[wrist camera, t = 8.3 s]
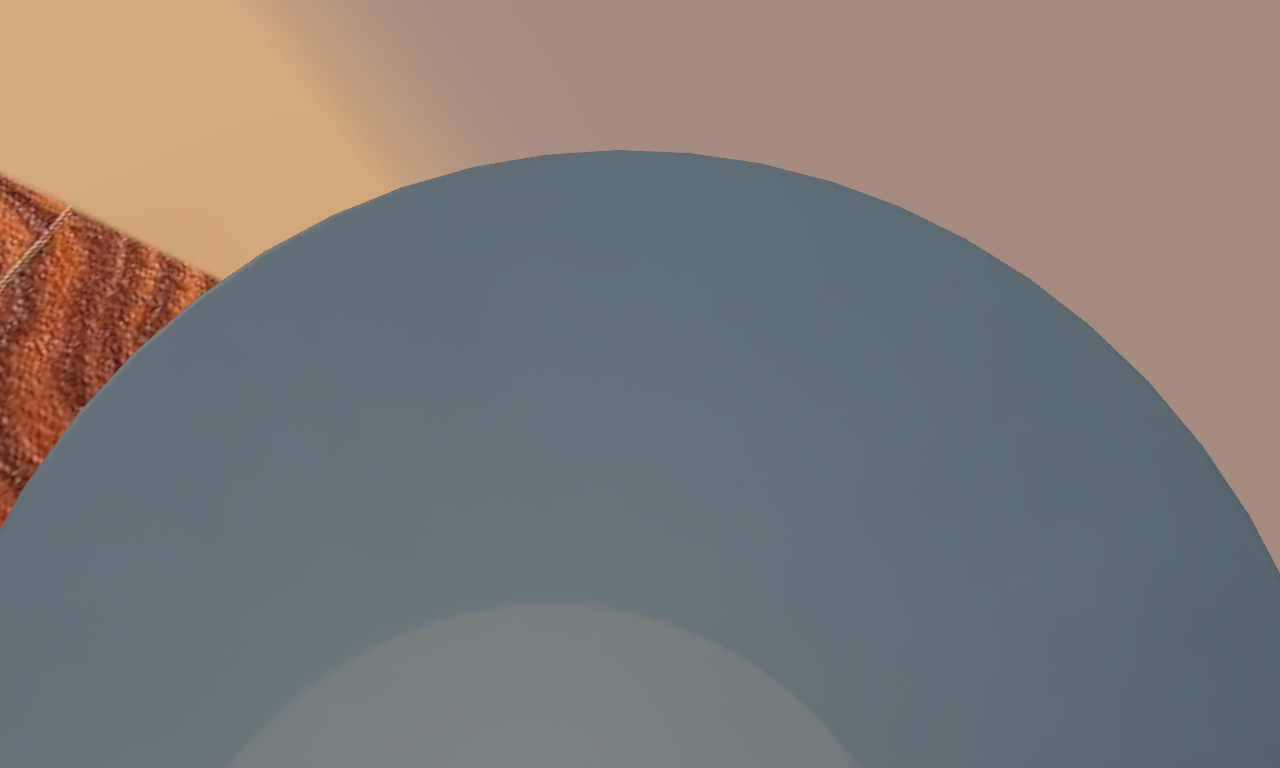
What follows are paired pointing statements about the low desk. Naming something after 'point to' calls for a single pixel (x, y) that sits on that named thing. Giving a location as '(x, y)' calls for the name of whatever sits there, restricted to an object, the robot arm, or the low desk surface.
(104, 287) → the low desk surface
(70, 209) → the low desk surface
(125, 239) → the low desk surface
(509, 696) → the hat
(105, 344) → the low desk surface
